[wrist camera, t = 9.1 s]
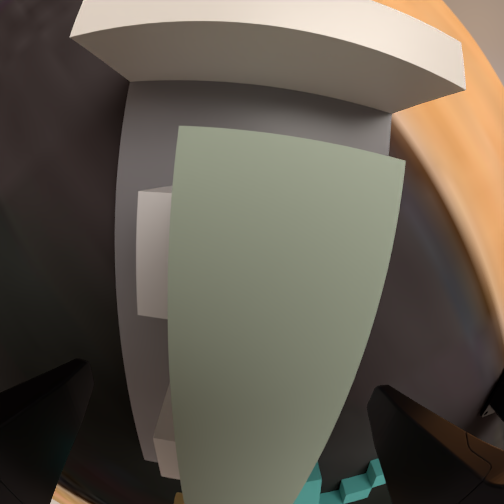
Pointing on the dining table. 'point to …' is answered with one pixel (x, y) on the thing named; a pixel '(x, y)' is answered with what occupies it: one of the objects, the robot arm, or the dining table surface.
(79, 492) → the dining table surface
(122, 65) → the hinge base
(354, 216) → the cabinet door
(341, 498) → the alien figure
